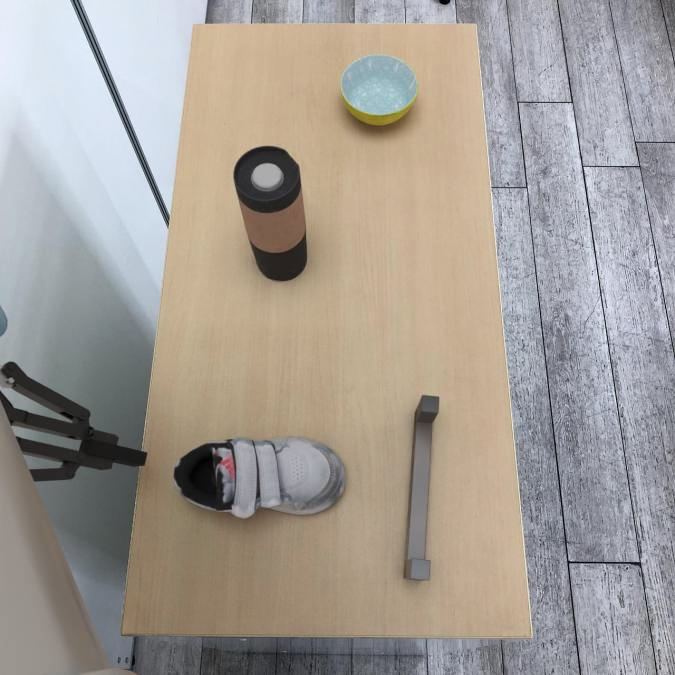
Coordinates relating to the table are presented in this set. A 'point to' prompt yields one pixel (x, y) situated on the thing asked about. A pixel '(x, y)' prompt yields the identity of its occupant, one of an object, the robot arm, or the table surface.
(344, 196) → the table surface
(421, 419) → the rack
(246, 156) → the travel mug
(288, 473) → the sneaker
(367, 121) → the bowl
